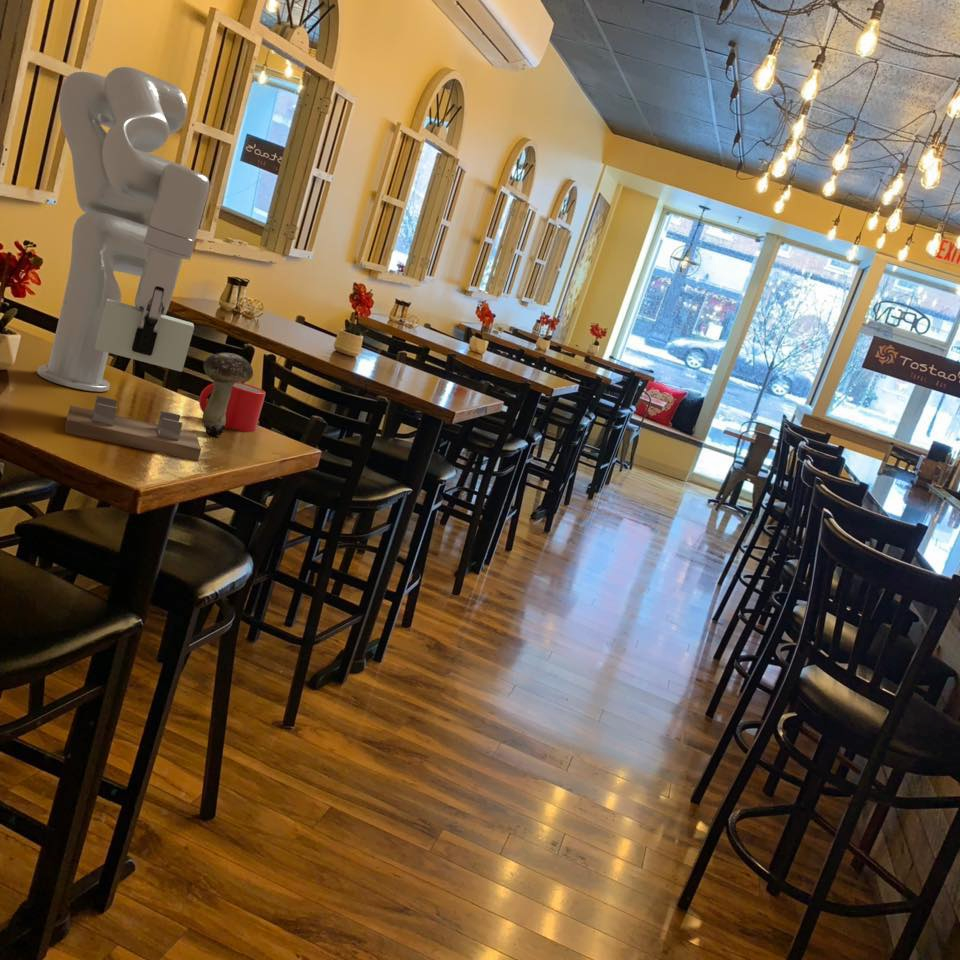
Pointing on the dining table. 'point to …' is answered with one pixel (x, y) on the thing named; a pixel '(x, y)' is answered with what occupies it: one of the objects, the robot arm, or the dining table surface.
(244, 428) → the mug
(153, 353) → the pale grey rectangular block
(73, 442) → the dining table surface
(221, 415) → the mushroom
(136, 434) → the board
